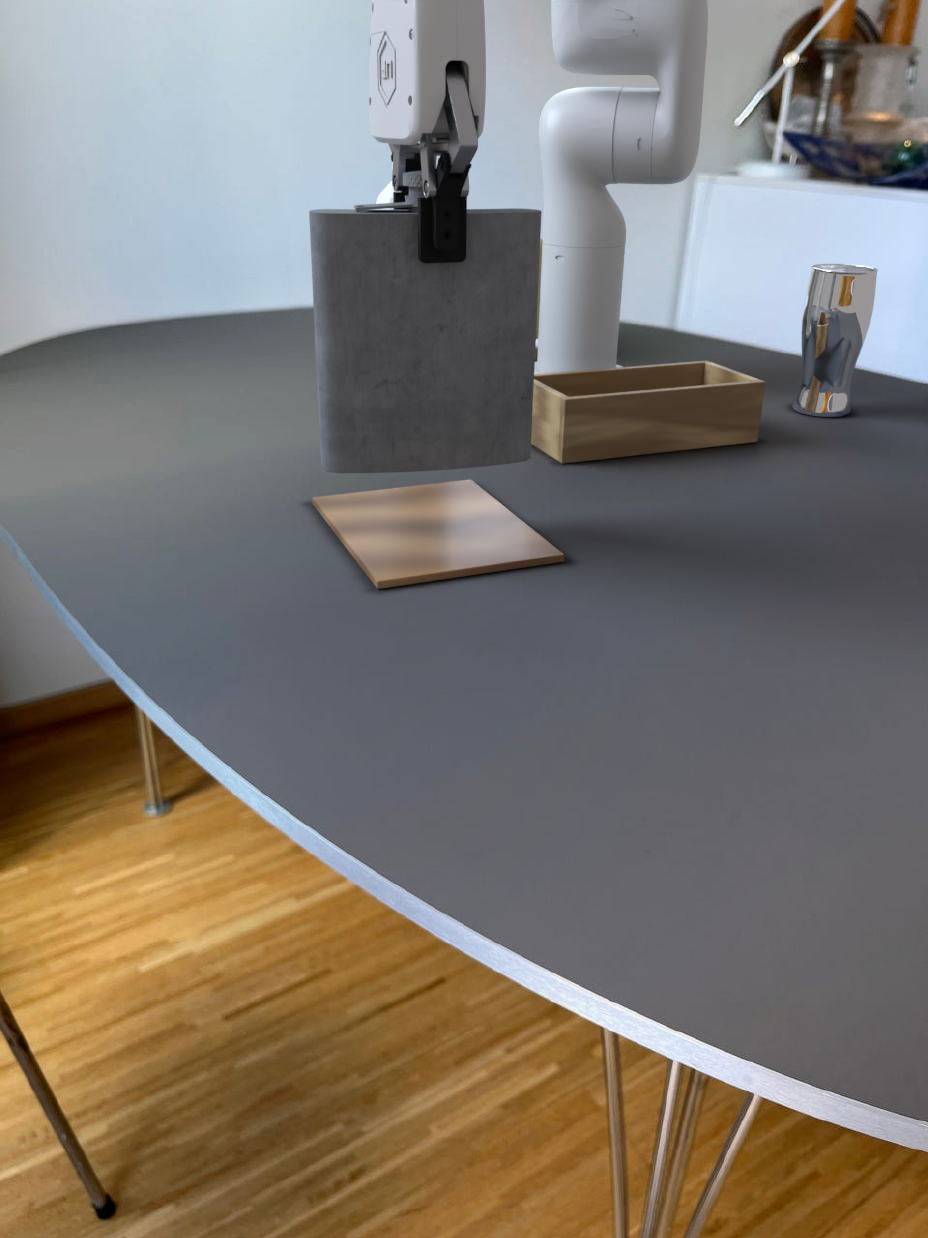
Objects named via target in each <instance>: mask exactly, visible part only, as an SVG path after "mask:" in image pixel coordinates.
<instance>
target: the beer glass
mask: <svg viewBox="0 0 928 1238" xmlns="http://www.w3.org/2000/svg"><path fill="white" fill-rule="evenodd" d="M878 272H879V271H878V268H876V267H873V266H869V265H860V264H853V263H851V264H850V263H818V264H814V265H812V266H811V268H810V274H809V278H808V282H807V286H806V291H805V294H804V295H805V296H804V301H803V307H802V316H801V374H800V379H799V385H798V388H797V391H796V394H795V396H794V399H793V403H792V409H793V410H794V412H797V413H799V414H803V415H807V416H812V417H819V418H840V417H846V416H848V415H849V414H850V413H851V410H852V409H851V408H852V407H851V406H852V403H851V400H852V399H851V397H852V396H851V395H852V394H851V391H852V383H853V382H852V381H853V376H854V372H855V369H856V366H857V363H858V360H859V357H860V355H861V352H862V349H863V347H864V344H865V341H866V338H867V335H868V332H869V329H870V325H871V321H872V315H873V311H874V306H875V305H874V304H875V299H876V298H875V297H876V288H877V277H878Z"/></svg>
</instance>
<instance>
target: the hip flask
mask: <svg viewBox="0 0 928 1238" xmlns="http://www.w3.org/2000/svg"><path fill="white" fill-rule="evenodd" d="M403 185H404V186H409V195H405V202H398V203H382V204H376V203H368V204H367V203H366V204H354V206H353V208H350V209H349V208H319V209H311V210H309V211H308V213H309V214H308V217H309V238H310V258H311V259H310V262H311V278H312V279H311V282H312V303H313V304H312V305H313V322H314V323H313V325H314V344H315V345H314V348H315V365H316V366H315V367H316V369H315V370H316V387H317V406H318V407H317V409H318V410H317V411H318V430H319V431H318V432H319V433H318V434H319V452H320V468H321V470H323V471H326V472H328V473H335V474H387V473H388V474H389V473H412V472H413V473H414V472H430V471H431V472H432V471H434V472H435V471H449V470H461V469H473V468H482V467H493V466H503V465H509V464H517V463H523V462H526V461H528V460H530V459H531V453H532V452H531V451H532V444H531V433H532V411H533V389H534V367H535V345H536V323H537V301H538V279H539V256H540V239H541V233H542V232H541V231H542V228H541V227H542V210H540V209H534V208H516V207H515V208H511V207H510V208H467V229H466V259H465V260H464V261H463V262H454V263H428V264H426V263H423V262H421V261H420V260H419V258H418V197H424V193H423V183H422V171H413V172H406V173H403ZM402 207H408V210H374V209H386V208H402Z"/></svg>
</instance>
